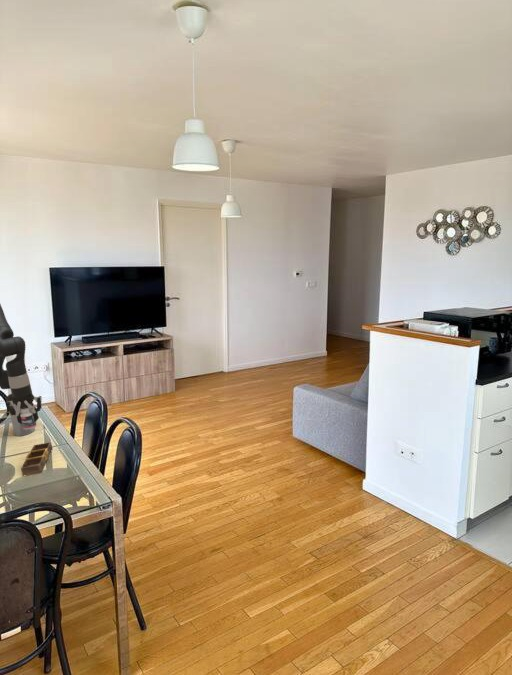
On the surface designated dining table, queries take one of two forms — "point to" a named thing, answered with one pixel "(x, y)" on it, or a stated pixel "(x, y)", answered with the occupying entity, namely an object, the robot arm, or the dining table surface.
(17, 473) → the dining table surface
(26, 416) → the pill bottle
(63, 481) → the dining table surface
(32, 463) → the rack
